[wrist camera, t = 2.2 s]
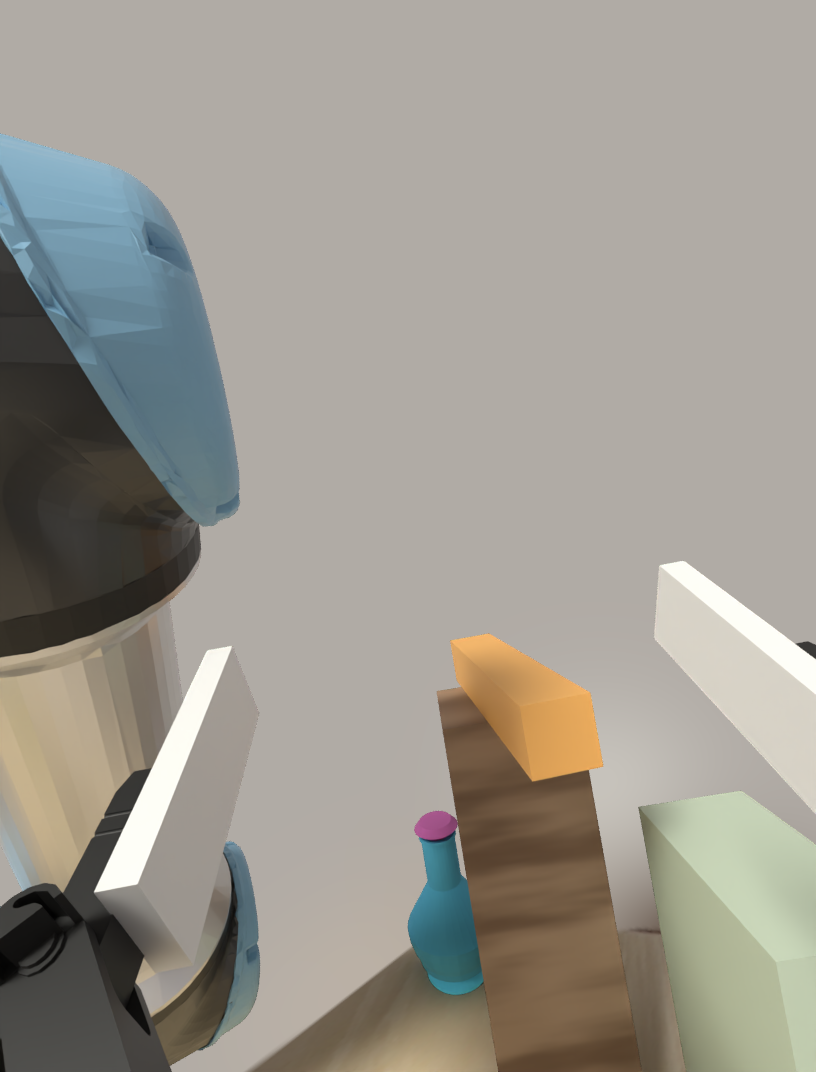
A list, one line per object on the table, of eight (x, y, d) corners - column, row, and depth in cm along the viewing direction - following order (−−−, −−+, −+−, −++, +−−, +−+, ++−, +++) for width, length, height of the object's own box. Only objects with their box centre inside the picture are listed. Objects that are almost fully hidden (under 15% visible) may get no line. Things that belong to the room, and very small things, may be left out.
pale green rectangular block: (1040, 1406, 22) (942, 936, 23) (865, 1432, 22) (775, 961, 23) (795, 1073, 36) (741, 790, 37) (689, 1089, 36) (638, 806, 37)
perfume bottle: (397, 967, 51) (375, 824, 51) (461, 916, 56) (440, 788, 57) (454, 1027, 43) (428, 860, 44) (521, 963, 49) (496, 815, 49)
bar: (603, 766, 26) (590, 692, 26) (532, 781, 25) (519, 706, 26) (495, 673, 48) (488, 633, 48) (456, 680, 47) (450, 640, 47)
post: (653, 1136, 33) (577, 708, 35) (512, 1157, 33) (442, 730, 35) (598, 1002, 43) (541, 674, 45) (490, 1019, 43) (436, 691, 45)
